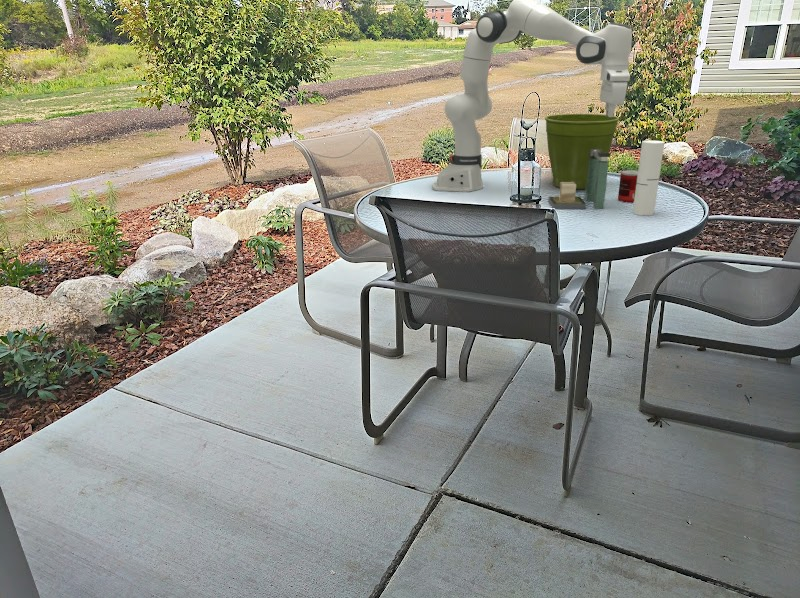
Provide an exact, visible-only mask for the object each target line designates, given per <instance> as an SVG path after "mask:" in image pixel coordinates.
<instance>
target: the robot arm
mask: <svg viewBox="0 0 800 598" xmlns="http://www.w3.org/2000/svg"><path fill="white" fill-rule="evenodd" d="M523 33H525V34H526V35H528V36H530V37H532V38H536V39H539V40H544V41H561V42H566V43H569V44H571V45H573V46H575V47H576V48H575V55H576V58H577V60H578V61H579V62H580V63H581V64H584V65H601V70H600V81H602V82H601V86H600V94H599V100H600V102H603V103H605V115H606V116H608V117H613V116H615V110H616V107H617V106H623V105H624V103H625V100H626V95H627V90H628V82H629V81H630V79H631V75H630V73H629V67H630V60H629V57H630V54H631V52H632V41H633V40H632V39H633V32H632V28H631V26H630V25H628V24H626V23H617V22H611V23H608V24H606V26H605V27H604V28H601V29H600V30H598V31H596V32H593V31H590V30H588V29H586V28H584V27H582V26H581V25H578V24H576V23H574V22H572V21H570V20H569V19H567V18H565V17H564V16H563V15H561V14H559V13H558V12H557V11H555V10H554V9H552V8H550V7H549V6H547V4H544V3H542V2H540V1H538V0H512V1H511V2H510V4H509V5H508V8H507V9H506V10H502V9H497V10H491V11H488V12H485V13H484V14H482V15H480V16H479V18H478V19H477V21H476V25H475V28H473V29H471V30H470V32H469V33H468V37H467V39H466V42H465V46H464V51H463V57H462V62H461V69H460V78H461V80H462V82H463V84H464V94H463V93H462V94H456V95H454V96H452V97H451V98H448V100H447V101H446V102H445V105H444V113H445V116H446V118H447V119H448V120H449V122H450V123H451V126H452V130H453V133H454V154H452V153H451V154H449V156H448V158H449V162H450V163H449V164H448V165H446V166H445V167H444V168H443V169H442V170H440V171H439V173H438V175H437V178H436V182H433V183H432V185H431V189H432V190H433V191H435V192H436V191H438V192H439V191H440V192H441V191H442V192H460V193H461V192H462V193H463V192H465V193H466V192H467V193H468V192H469V193H470V192H472V191H477V190H481V189H483V188H484V184H483V179H482V165H483V163H482V162H483V157H482V155H483V154H482V153H481V151H482V136H481V133H480V132H479V131H478V129H477V124H476V121H478V120H482V119H484V118H485V117H486V116H489V115H490V113H491V112H492V109H493V102H492V99H491V97H490V95H489V89H488V88H489V87H488V80H489V79H488V78H489V71H490V65H491V60H492V53H493V49H494V47H495V46H496V45H497V44H499V45H503V44H509V43H512V42H514V41H516V40H518V39H519V38H520V37H521V35H522V34H523Z"/></svg>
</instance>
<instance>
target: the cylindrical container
mask: <svg viewBox="0 0 800 598" xmlns="http://www.w3.org/2000/svg"><path fill="white" fill-rule="evenodd" d="M664 148H665V141H662V140H642V142H641V146H640V155H639V160H638V161H639V162H638V169H637V171H638V176H637V183H636V191H635V198H634V202H633V207H632V214H634V213H635V214H634V215H636V214H638V215H637V216H643V215H649V216H654V215H655V208H656V202H657V196H658V189H659V181H660V175H661V169H662V163H663V162H662V161H663V157H664V156H663V155H664Z"/></svg>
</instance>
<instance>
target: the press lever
mask: <svg viewBox="0 0 800 598" xmlns="http://www.w3.org/2000/svg"><path fill="white" fill-rule="evenodd" d="M589 156H590V157H596V158H597V159H599V160H600V161H607V162H608V158H610V157H611V153H610V151H609V152H602V149H590V152H589Z"/></svg>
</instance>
